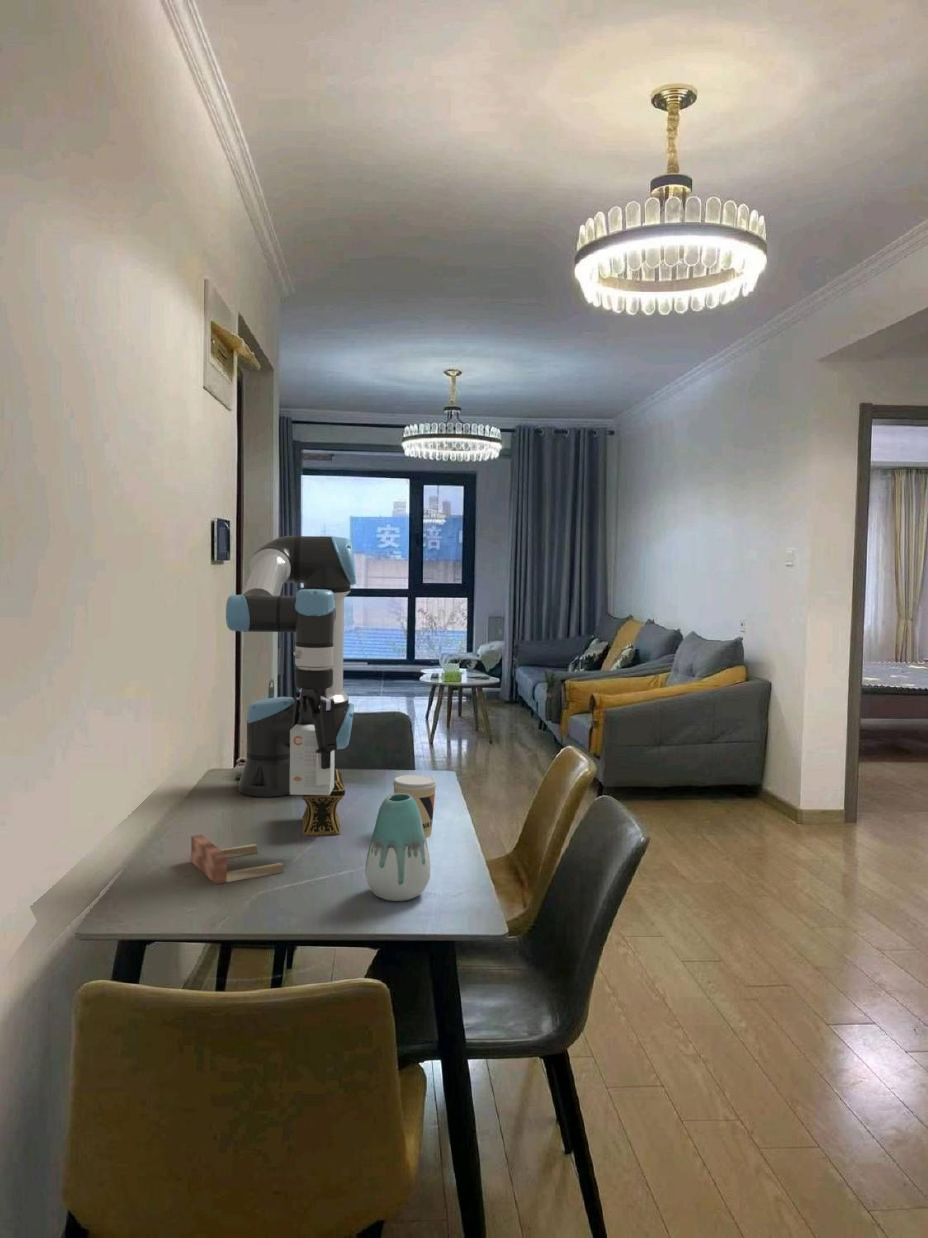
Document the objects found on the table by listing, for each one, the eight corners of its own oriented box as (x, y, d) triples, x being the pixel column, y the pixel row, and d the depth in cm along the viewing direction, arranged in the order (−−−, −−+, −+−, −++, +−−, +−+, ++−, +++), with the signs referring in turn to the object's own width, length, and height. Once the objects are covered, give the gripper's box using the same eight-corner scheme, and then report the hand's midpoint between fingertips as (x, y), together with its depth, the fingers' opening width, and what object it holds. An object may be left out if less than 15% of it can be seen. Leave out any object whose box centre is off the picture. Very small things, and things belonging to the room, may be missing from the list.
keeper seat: (191, 861, 180) (191, 836, 180) (255, 851, 188) (255, 826, 187) (215, 884, 169) (216, 857, 168) (283, 872, 176) (283, 846, 175)
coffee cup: (429, 842, 197) (430, 786, 196) (386, 838, 199) (387, 782, 198) (439, 829, 206) (440, 776, 205) (398, 826, 208) (399, 773, 207)
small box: (334, 787, 189) (335, 724, 188) (329, 796, 183) (331, 731, 182) (294, 786, 189) (295, 723, 188) (288, 795, 183) (289, 729, 182)
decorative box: (298, 816, 213) (299, 731, 212) (340, 815, 215) (341, 731, 214) (298, 843, 193) (299, 750, 192) (345, 842, 195) (346, 749, 194)
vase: (376, 910, 158) (378, 807, 157) (356, 887, 169) (358, 790, 167) (439, 902, 163) (442, 801, 162) (416, 880, 173) (418, 785, 172)
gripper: (274, 661, 191) (273, 768, 193) (320, 675, 173) (318, 793, 175) (308, 659, 195) (307, 764, 197) (356, 673, 177) (354, 789, 179)
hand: (312, 778), depth 186 cm, fingers closed on small box, 9 cm apart
